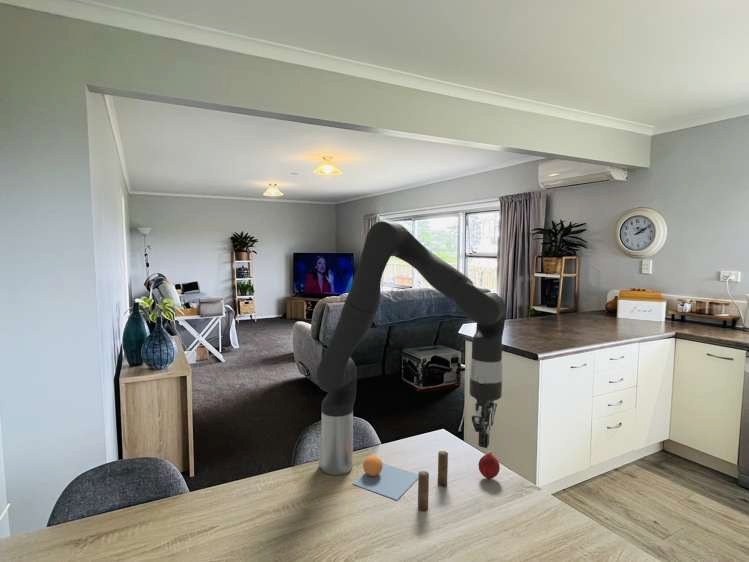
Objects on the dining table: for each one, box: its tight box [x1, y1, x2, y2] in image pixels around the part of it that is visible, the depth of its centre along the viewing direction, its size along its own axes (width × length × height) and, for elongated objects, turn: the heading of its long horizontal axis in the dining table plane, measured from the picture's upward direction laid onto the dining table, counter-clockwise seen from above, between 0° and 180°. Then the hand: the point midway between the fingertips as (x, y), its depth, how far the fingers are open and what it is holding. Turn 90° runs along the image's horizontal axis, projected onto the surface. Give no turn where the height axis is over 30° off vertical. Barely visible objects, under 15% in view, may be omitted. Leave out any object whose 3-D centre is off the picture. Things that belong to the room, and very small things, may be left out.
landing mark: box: [352, 462, 418, 501], centre depth 118 cm, size 14×14×1 cm
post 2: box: [437, 450, 449, 488], centre depth 116 cm, size 3×3×9 cm
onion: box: [478, 450, 501, 480], centre depth 119 cm, size 6×6×8 cm
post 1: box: [417, 470, 430, 512], centre depth 105 cm, size 3×3×9 cm
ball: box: [362, 454, 383, 476], centre depth 120 cm, size 6×6×6 cm
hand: (483, 446), depth 103 cm, fingers closed
